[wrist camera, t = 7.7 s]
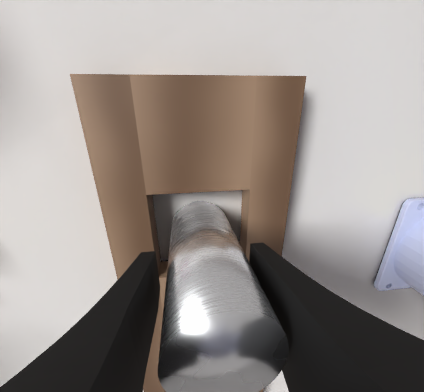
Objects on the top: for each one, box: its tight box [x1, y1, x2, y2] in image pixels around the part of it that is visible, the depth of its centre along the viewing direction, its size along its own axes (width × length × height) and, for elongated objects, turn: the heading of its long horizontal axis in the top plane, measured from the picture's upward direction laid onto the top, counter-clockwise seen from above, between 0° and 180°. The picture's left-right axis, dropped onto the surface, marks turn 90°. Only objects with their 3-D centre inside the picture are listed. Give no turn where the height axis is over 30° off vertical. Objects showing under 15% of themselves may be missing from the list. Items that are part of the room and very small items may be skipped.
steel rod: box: [158, 201, 289, 392], centre depth 9 cm, size 4×4×8 cm
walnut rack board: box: [70, 74, 306, 392], centre depth 15 cm, size 10×32×2 cm, turn 0°
